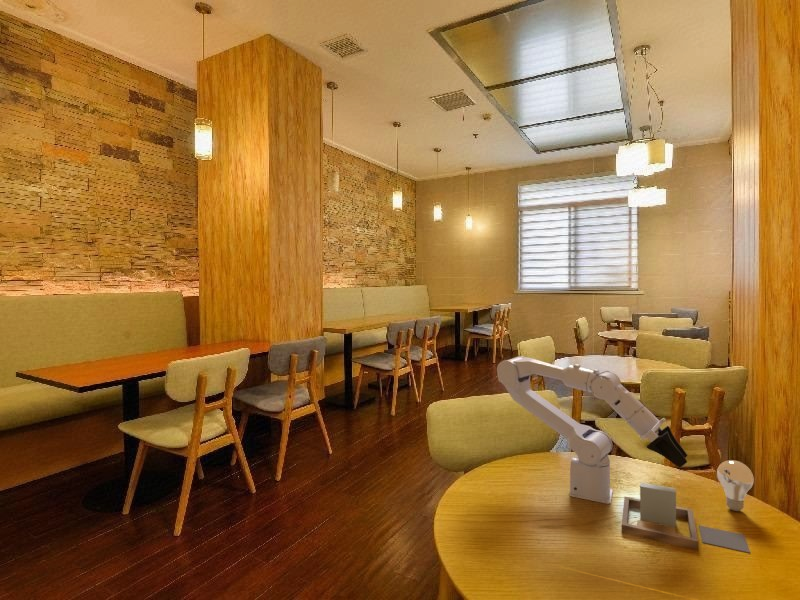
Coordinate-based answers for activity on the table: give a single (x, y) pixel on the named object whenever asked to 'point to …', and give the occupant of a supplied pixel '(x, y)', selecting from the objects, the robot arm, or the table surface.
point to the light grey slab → (658, 504)
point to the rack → (656, 534)
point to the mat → (724, 539)
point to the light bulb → (735, 482)
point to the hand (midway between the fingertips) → (683, 461)
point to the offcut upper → (656, 526)
